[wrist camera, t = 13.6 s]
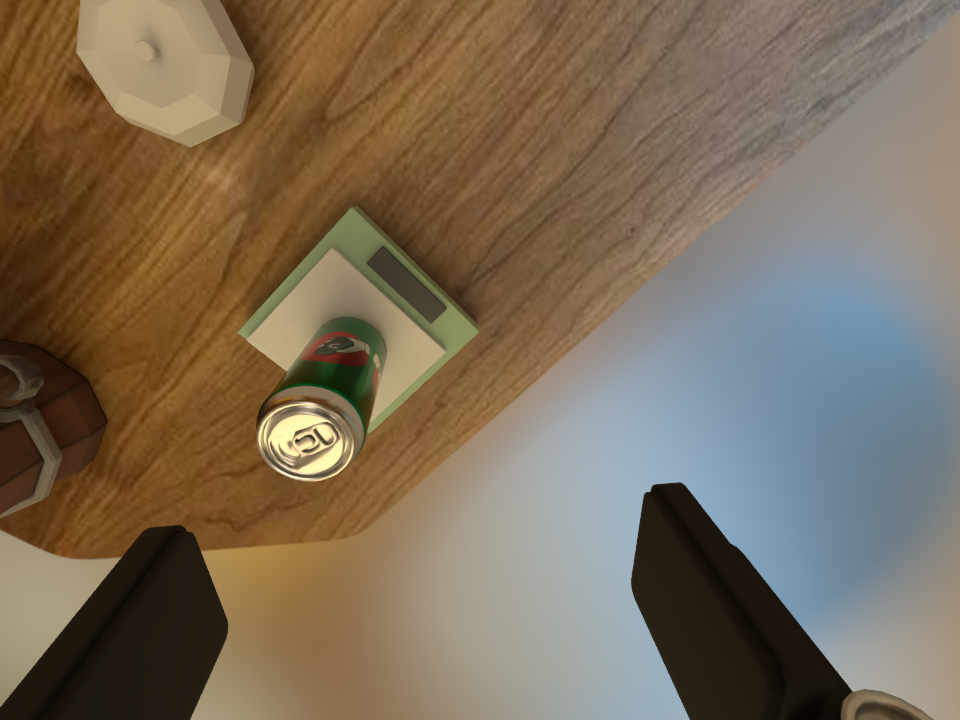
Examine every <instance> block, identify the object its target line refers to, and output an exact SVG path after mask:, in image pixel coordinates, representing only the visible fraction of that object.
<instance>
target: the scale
mask: <svg viewBox="0 0 960 720" xmlns="http://www.w3.org/2000/svg"><path fill="white" fill-rule="evenodd" d="M339 317H354V318H358V319H361V320H364V321H366V322H368V323H369V324H371V325H372V326H374V327H375V328H376V329H377V330H378V332H379V333H380V334H381V336H382V338H383V339H384V342H385V345H386V350H387V356H386V361H385V365H384V369H383V373H382V377H381V381H380V384H379V388H378V392H377V396H376V400H375V404H374V408H373V411H372V415H371V419H370V423H369V427H368V431H367V432H368V433H371V432H372V431H373V430H374V429H375V428H376V427H377V426H378V425H379V424H380V423H382V422H383V421H384V420H385V419H386V418H387V417H388V416H389V415H390V414H391V413H392V412H393V411H395V410H396V409H397V408H398V407H399V406H400V405H401V404H402V403H403V402H404V401H405V400H406V399H407V398H409V397H410V396H411V395H412V394H413V393H414V392H415V391H416V390H417V389H418V388H419V387H420V386H421V385H423V384H424V383H425V382H426V381H427V380H428V379H429V378H430V377H431V376H432V375H433V374H434V373H436V372H437V371H438V370H439V369H440V368H441V367H442V366H443V365H444V364H445V363H446V362H447V361H448V360H450V359H451V358H452V357H453V356H454V355H455V354H456V353H457V352H458V351H459V350H460V349H461V348H462V347H464V346H465V345H466V344H467V343H468V342H469V341H470V340H471V339H472V338H473V337H474V336H475V335H476V334H478V333H479V329H478V325H477V323H476V322H475V321H474V320H473V319H472V318H471V317H470V316H469V315H468V314H467V313H466V312H465V311H464V310H463V309H462V308H461V307H460V306H459V305H458V304H457V303H456V302H455V301H454V300H453V299H452V298H451V297H450V296H449V295H448V294H447V293H446V292H445V291H444V290H443V289H442V288H441V287H440V286H439V285H438V284H437V283H436V282H435V281H434V280H433V279H432V278H431V277H430V276H429V275H428V274H427V273H426V272H424V271H423V270H422V269H421V268H420V267H419V266H418V265H417V264H416V263H415V262H414V261H413V260H412V259H411V258H410V257H409V256H408V255H407V254H406V253H405V252H404V251H403V250H402V249H401V248H400V247H399V246H398V245H397V244H396V243H395V242H394V241H393V240H392V239H391V238H390V237H389V236H388V235H387V234H386V233H385V232H384V231H383V230H382V229H381V228H380V227H379V226H378V225H377V224H376V223H375V222H374V221H373V220H372V219H371V218H370V217H369V216H368V215H367V214H366V213H365V212H364V211H363V210H361V209H360V208H359V207H358V206H357V205H355V206H353V207H351V208H350V209H349V210H348V211H347V212H346V213H345V214H344V216H343V217H342V218H341V219H340V220H339V221H338V222H337V223H336V224H335V225H334V226H333V228H332V229H331V230H330V231H329V232H328V233H327V234H326V235H325V236H324V237H323V239H322V240H321V241H320V242H319V243H318V244H317V245H316V246H315V247H314V248H313V249H312V251H311V252H310V253H309V254H308V255H307V256H306V257H305V258H304V259H303V260H302V262H301V263H300V264H299V265H298V266H297V267H296V268H295V269H294V270H293V271H292V272H291V274H290V275H289V276H288V277H287V278H286V279H285V280H284V281H283V282H282V283H281V285H280V286H279V287H278V288H277V289H276V290H275V291H274V292H273V293H272V294H271V295H270V297H269V298H268V299H267V300H266V301H265V302H264V303H263V304H262V305H261V306H260V308H259V309H258V310H257V311H256V312H255V313H254V314H253V315H252V316H251V317H250V318H249V320H248V321H247V322H246V323H245V324H244V325H243V326H242V327H241V328H240V329H239V330H238V332H237V333H238V334H240V335H241V336H242V337H244V338H245V339H246V341H248V342H249V343H250V344H252V345H253V346H254V347H256V348H257V349H258V350H259V351H261V352H262V353H263V354H265V355H266V356H267V357H269V358H270V359H271V360H273V361H274V362H275V363H276V364H278V365H279V366H280V367H282V368H283V369H284V370H286V371H288V369H289V368H290V367H291V365H292V364H293V363H294V361H295V360H296V359H297V357H298V356H299V355H300V353H301V352H302V351H303V349H304V348H305V347H306V345H307V344H308V343H309V341H310V340H311V339H312V337H313V336H314V335H315V333H316V332H317V331H318V329H319V328H320V327H321V326H322V325H323V324H325V323H326V322H328V321H330V320H332V319H335V318H339Z"/></svg>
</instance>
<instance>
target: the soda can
mask: <svg viewBox="0 0 960 720" xmlns="http://www.w3.org/2000/svg"><path fill="white" fill-rule="evenodd" d="M386 356H387V350H386V345H385V342H384V339H383V338H382V336H381V334H380V333H379V332H378V330H377V329H376V328H375V327H374V326H372V325H371V324H369V323H368V322H366V321H364V320H361V319H358V318H354V317H339V318H335V319H332V320H330V321H328V322H326V323H325V324H323V325H322V326H321V327H320V328H319V329H318V331H317V332H316V333H315V335H314V336H313V337H312V339H311V340H310V341H309V343H308V344H307V345H306V347H305V348H304V349H303V351H302V352H301V353H300V355H299V356H298V357H297V359H296V360H295V361H294V363H293V364H292V365H291V367H290V368H289V369H288V371H287V372H286V373H285V375H284V376H283V378H282V379H281V380H280V382H279V383H278V384H277V386H276V387H275V388H274V390H273V391H272V392H271V394H270V395H269V396H268V398H267V399H266V400H265V402H264V403H263V404H262V406H261V408H260V410H259V412H258V416H257V423H256V427H257V446H258V449H259V452H260V454H261V455H262V457H263V459H264V460H265V461H266V463H267V464H268V465H269V466H270V467H271V468H273V469H274V470H275V471H277V472H278V473H280V474H282V475H284V476H286V477H289V478H292V479H296V480H301V481H318V480H323V479H327V478H329V477H332V476H334V475H335V474H337V473H339V472H340V471H341V470H342V469H344V468H345V466H346V465H348V464H349V463H350V462H352V461H353V460H354V459H355V458H356V457H357V456H358V454H359V453H360V451H361V449H362V447H363V445H364V442H365V438H366V434H367V431H368V427H369V423H370V419H371V415H372V411H373V408H374V404H375V400H376V396H377V392H378V388H379V384H380V381H381V377H382V373H383V369H384V365H385V361H386Z"/></svg>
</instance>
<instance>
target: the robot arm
mask: <svg viewBox="0 0 960 720" xmlns="http://www.w3.org/2000/svg"><path fill="white" fill-rule="evenodd" d="M631 586H632V592H633V595H634V598H635V600H636V602H637V605H638V607H639V609H640V611H641V614H642V615H643V618H644V620H645V622H646V625H647V627H648V629H649V631H650V633H651V636H652V638H653V640H654V642H655V644H656V646H657V648H658V651H659V653H660V655H661V657H662V660H663V662H664V664H665V666H666V668H667V671H668V673H669V675H670V677H671V679H672V682H673V684H674V686H675V688H676V690H677V692H678V695H679V697H680V699H681V701H682V703H683V705H684V708H685V710H686V712H687V714H688V716H689V719H690V720H933V719H932V718H931V717H930V716H928V715H927V714H926V713H924V712H923V711H922V710H920V709H919V708H917V707H915V706H913V705H911V704H910V703H908V702H906V701H904V700H902V699H901V698H898V697H896V696H893V695H890V694H887V693H884V692H882V691H875V690H867V689H863V690H859V691H855V692H853V691H852V690H851V689H850V688H849V686H848V685H847V684H846V683H845V681H844V680H843V679H842V678H841V676H840V675H839V674H838V672H837V671H836V670H835V669H834V667H833V666H832V665H831V664H830V663H829V661H828V660H827V659H826V657H825V656H824V655H823V654H822V652H821V651H820V650H819V648H818V647H817V646H816V645H815V644H814V642H813V641H812V640H811V639H810V637H809V636H808V635H807V633H806V632H805V631H804V630H803V628H802V627H801V626H800V624H799V623H798V622H797V621H796V619H795V618H794V617H793V616H792V614H791V613H790V612H789V611H788V609H787V608H786V607H785V606H784V604H783V603H782V602H781V600H780V599H779V598H778V597H777V595H776V594H775V593H774V592H773V590H772V589H771V588H770V587H769V585H768V584H767V583H766V582H765V580H764V579H763V578H762V576H761V575H760V574H759V573H758V571H757V570H756V569H755V568H754V566H753V565H752V564H751V563H750V561H749V560H748V559H747V558H746V556H745V555H744V554H743V553H742V552H741V551H740V550H739V549H738V548H737V547H736V546H734V545H732V544H730V542H729V541H728V540H727V539H726V537H725V536H724V535H723V534H722V532H721V531H720V530H719V528H718V527H717V526H716V525H715V523H714V522H713V521H712V519H711V518H710V517H709V515H708V514H707V513H706V512H705V510H704V509H703V508H702V507H701V505H700V504H699V503H698V501H697V500H696V499H695V497H694V496H693V495H692V494H691V492H690V491H689V490H688V489H687V488H686V486H685V485H683V484H682V483H680V482H679V483H667V484H656V485H653V486H652V488H651V491H650V492H646V493H645V494H644V498H643V504H642V511H641V518H640V524H639V532H638V538H637V545H636V552H635V558H634V565H633V571H632V578H631ZM227 633H228V621H227V618H226V615H225V613H224V610H223V607H222V605H221V602H220V600H219V597H218V595H217V592H216V589H215V587H214V584H213V582H212V579H211V576H210V574H209V571H208V569H207V566H206V564H205V561H204V558H203V556H202V553H201V551H200V548H199V545H198V543H197V540H196V538H195V536H194V534H193V533H192V532H187V530H186V529H185V527H183V526H182V525H176V526H164V527H153V528H148V529H146V530H145V531H144V532H142V533H141V534H140V536H139V537H138V538H137V539H136V541H135V542H134V543H133V544H132V546H131V547H130V548H129V549H128V550H127V552H126V553H125V554H124V555H123V557H122V558H121V559H120V560H119V562H118V563H117V564H116V565H115V567H114V568H113V569H112V570H111V572H110V573H109V574H108V575H107V576H106V578H105V579H104V580H103V581H102V583H101V584H100V585H99V586H98V587H97V589H96V590H95V591H94V592H93V594H92V595H91V596H90V597H89V599H88V600H87V601H86V602H85V604H84V605H83V606H82V607H81V609H80V610H79V611H78V612H77V613H76V615H75V616H74V617H73V618H72V620H71V621H70V622H69V623H68V625H67V626H66V627H65V628H64V630H63V631H62V632H61V633H60V634H59V636H58V637H57V638H56V639H55V641H54V642H53V643H52V644H51V645H50V647H49V648H48V649H47V650H46V652H45V653H44V654H43V655H42V657H41V658H40V659H39V660H38V662H37V663H36V664H35V665H34V666H33V668H32V669H31V670H30V671H29V673H28V674H27V675H26V676H25V678H24V679H23V680H22V681H21V683H20V684H19V685H18V686H17V688H16V689H15V690H14V691H13V692H12V694H11V695H10V696H9V697H8V699H7V700H6V701H5V702H4V704H3V705H2V706H1V707H0V720H190V719H191V716H192V714H193V712H194V710H195V707H196V705H197V703H198V701H199V699H200V696H201V694H202V692H203V690H204V687H205V685H206V683H207V681H208V679H209V676H210V674H211V672H212V670H213V667H214V665H215V663H216V661H217V658H218V656H219V654H220V652H221V650H222V647H223V645H224V643H225V640H226V637H227Z"/></svg>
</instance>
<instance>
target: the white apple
mask: <svg viewBox="0 0 960 720" xmlns="http://www.w3.org/2000/svg"><path fill="white" fill-rule="evenodd" d="M76 52H77V54H78V55H79V57H80V58H81V60H82V62H83V63H84V65H85V66H86V68H87V69H88V71H89V72H90V74H91V75H92V77H93V78H94V80H95V81H96V83H97V84H98V86H99V87H100V89H101V90H102V92H103V93H104V95H105V97H106V98H107V100H108V101H109V103H110V104H111V106H112V107H113V109H114V110H115V112H116V113H118V114H119V115H120V116H122V117H123V118H124V119H126V120H127V121H128V122H130V123H131V124H134V125H136V126H139V127H141V128H144V129H146V130H149V131H151V132H154V133H156V134H159V135H161V136H164V137H166V138H169V139H171V140H174V141H176V142H179V143H181V144H183V145H186V146H188V147H193V146H195V145H197V144H199V143H201V142H203V141H205V140H208V139H210V138H212V137H214V136H216V135H218V134H220V133H222V132H224V131H226V130H229V129H231V128H233V127H235V126H237V125H239V124H240V123H241V122H242V121H243V120H244V119H245V114H246V110H247V105H248V101H249V97H250V92H251V88H252V83H253V79H254V75H255V68H254V66H253V63H252V61H251V60H250V58H249V56H248V54H247V52H246V50H245V48H244V46H243V44H242V42H241V40H240V38H239V36H238V34H237V32H236V30H235V29H234V27H233V25H232V23H231V21H230V19H229V17H228V15H227V13H226V11H225V9H224V7H223V5H222V3H221V1H220V0H81V1H80V13H79V25H78V36H77V48H76Z"/></svg>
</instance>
